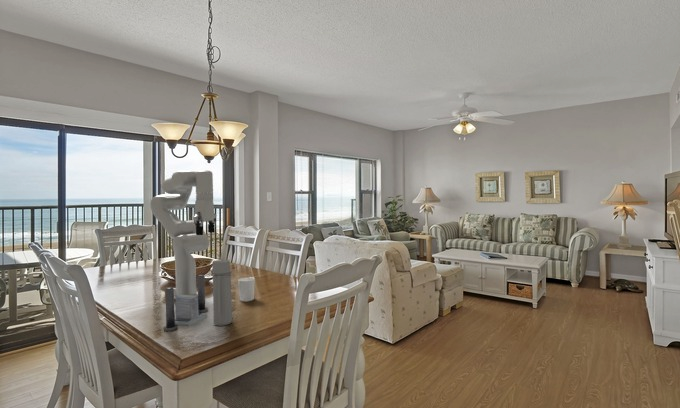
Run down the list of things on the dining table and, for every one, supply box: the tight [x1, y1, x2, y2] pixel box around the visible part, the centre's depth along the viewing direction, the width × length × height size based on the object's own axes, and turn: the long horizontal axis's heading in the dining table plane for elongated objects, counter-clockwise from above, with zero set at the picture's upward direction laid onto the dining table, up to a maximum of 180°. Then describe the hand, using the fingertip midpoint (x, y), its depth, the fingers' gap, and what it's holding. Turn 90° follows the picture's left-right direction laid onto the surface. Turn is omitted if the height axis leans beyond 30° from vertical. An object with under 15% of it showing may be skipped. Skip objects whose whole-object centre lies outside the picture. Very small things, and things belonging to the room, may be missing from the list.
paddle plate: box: [175, 312, 208, 326], centre depth 148 cm, size 11×11×1 cm
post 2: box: [196, 274, 209, 313], centre depth 158 cm, size 5×5×16 cm
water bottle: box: [210, 259, 233, 327], centre depth 142 cm, size 9×8×25 cm
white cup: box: [237, 276, 256, 302], centre depth 175 cm, size 8×8×10 cm
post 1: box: [163, 286, 179, 333], centre depth 138 cm, size 5×5×16 cm
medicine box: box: [174, 295, 199, 319], centre depth 148 cm, size 8×4×9 cm, turn 74°
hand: (205, 233), depth 167 cm, fingers open, 9 cm apart
